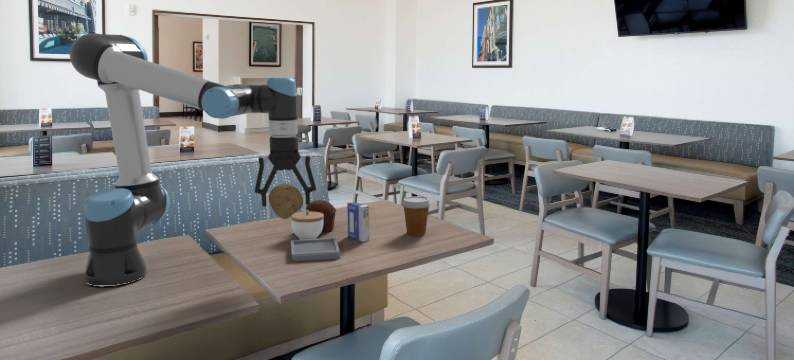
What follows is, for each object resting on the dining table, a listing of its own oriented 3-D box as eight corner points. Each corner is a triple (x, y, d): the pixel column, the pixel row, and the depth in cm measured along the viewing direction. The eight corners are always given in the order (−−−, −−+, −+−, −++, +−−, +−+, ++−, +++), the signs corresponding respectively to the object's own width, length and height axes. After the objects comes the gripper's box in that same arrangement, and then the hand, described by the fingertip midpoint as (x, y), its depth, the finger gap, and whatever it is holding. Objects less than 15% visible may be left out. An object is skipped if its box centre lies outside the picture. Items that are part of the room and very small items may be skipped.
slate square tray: (292, 261, 172) (291, 254, 172) (291, 247, 185) (291, 240, 185) (339, 258, 175) (339, 251, 174) (335, 244, 188) (335, 237, 188)
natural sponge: (292, 212, 168) (291, 178, 166) (309, 218, 162) (308, 183, 160) (264, 218, 162) (262, 183, 161) (281, 224, 156) (279, 188, 154)
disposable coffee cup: (419, 239, 194) (419, 203, 191) (396, 234, 199) (396, 199, 197) (435, 232, 201) (435, 198, 199) (412, 228, 207) (413, 194, 204)
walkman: (347, 237, 196) (347, 202, 194) (354, 235, 198) (353, 200, 196) (362, 242, 191) (362, 206, 188) (369, 240, 192) (369, 204, 190)
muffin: (297, 229, 205) (296, 201, 203) (322, 222, 213) (321, 195, 210) (318, 236, 197) (317, 208, 194) (344, 229, 204) (342, 201, 202)
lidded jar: (296, 244, 188) (295, 215, 186) (288, 235, 198) (287, 208, 196) (328, 240, 192) (327, 212, 191) (318, 232, 202) (318, 205, 200)
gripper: (240, 138, 152) (245, 222, 156) (325, 136, 156) (327, 218, 160) (242, 134, 159) (246, 215, 164) (323, 133, 163) (325, 211, 168)
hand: (286, 216), depth 162 cm, fingers closed on natural sponge, 9 cm apart
